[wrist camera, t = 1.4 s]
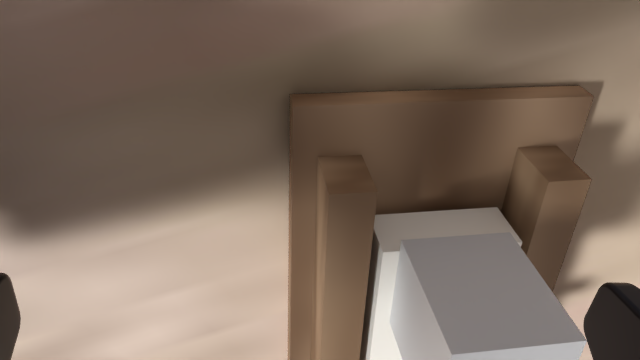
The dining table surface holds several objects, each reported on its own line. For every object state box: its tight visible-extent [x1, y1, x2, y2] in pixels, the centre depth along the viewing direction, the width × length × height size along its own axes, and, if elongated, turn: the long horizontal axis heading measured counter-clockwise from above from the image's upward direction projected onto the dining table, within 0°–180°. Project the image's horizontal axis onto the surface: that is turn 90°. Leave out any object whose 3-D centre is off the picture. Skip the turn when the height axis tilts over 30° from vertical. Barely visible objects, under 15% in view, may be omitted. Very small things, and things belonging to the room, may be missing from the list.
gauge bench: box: [288, 86, 594, 360], centre depth 25 cm, size 11×22×4 cm, turn 178°
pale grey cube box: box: [359, 207, 587, 360], centre depth 21 cm, size 7×8×7 cm
